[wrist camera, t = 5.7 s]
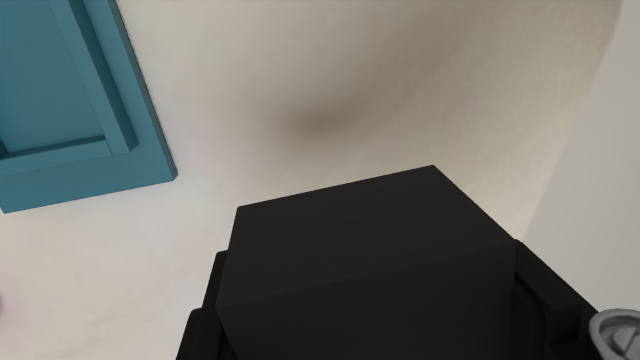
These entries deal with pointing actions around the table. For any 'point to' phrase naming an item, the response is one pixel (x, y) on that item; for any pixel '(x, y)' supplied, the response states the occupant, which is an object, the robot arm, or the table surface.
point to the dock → (73, 106)
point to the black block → (369, 274)
